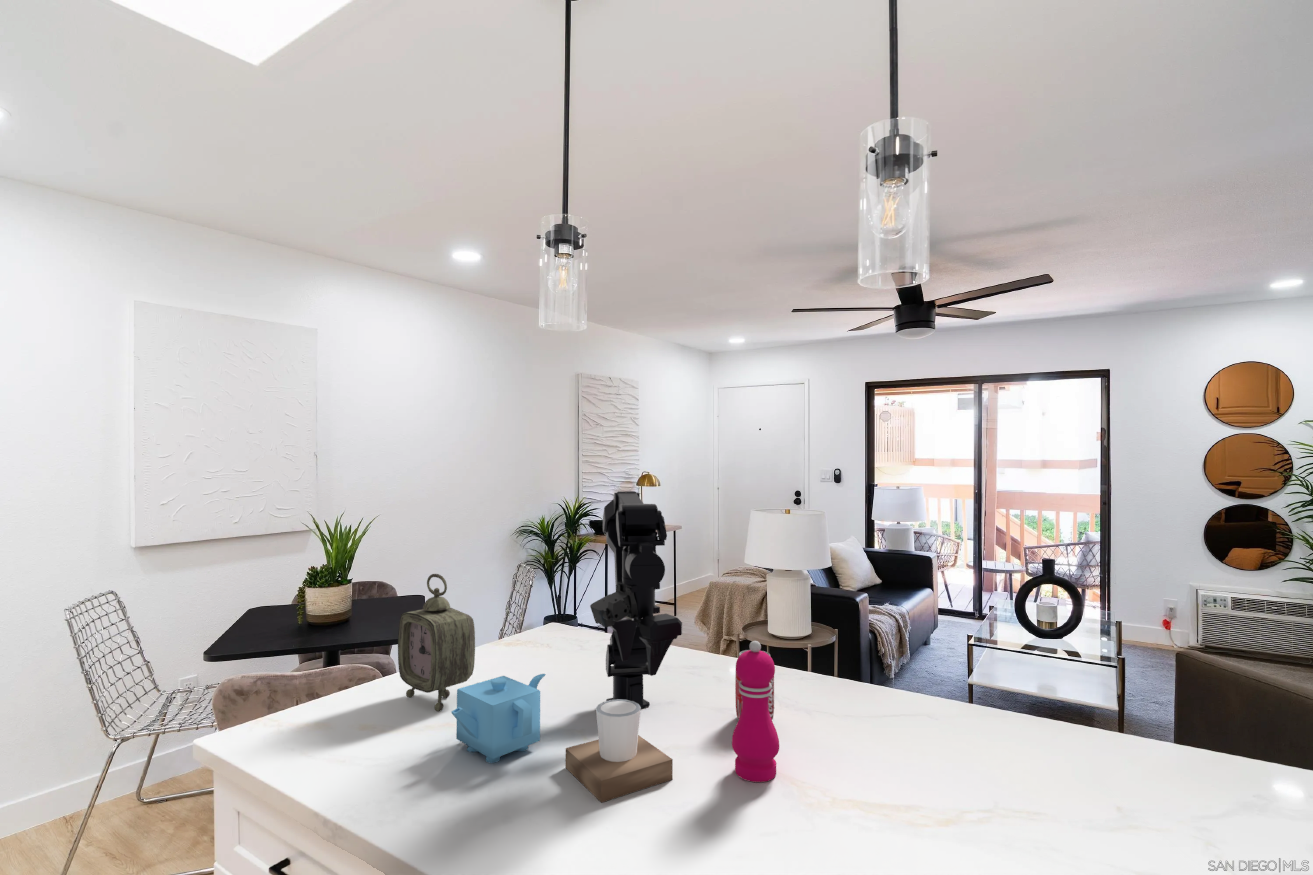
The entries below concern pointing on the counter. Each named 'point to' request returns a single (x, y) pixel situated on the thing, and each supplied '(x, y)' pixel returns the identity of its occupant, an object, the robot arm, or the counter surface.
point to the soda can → (739, 695)
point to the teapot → (498, 716)
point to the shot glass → (618, 729)
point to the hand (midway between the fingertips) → (638, 667)
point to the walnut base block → (618, 769)
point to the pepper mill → (755, 718)
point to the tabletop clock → (435, 646)
